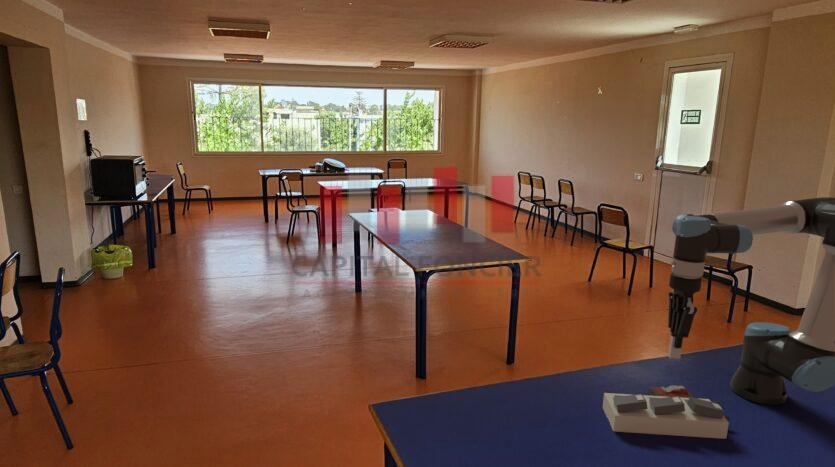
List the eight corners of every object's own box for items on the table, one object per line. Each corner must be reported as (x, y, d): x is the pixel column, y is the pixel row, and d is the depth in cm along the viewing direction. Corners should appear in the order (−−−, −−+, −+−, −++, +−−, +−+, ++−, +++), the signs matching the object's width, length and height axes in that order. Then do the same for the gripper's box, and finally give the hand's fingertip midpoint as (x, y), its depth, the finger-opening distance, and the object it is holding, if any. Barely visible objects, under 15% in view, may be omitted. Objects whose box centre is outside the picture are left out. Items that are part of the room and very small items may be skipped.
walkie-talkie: (657, 410, 156) (721, 408, 156) (658, 396, 155) (723, 395, 156) (643, 394, 164) (704, 393, 165) (644, 382, 163) (706, 381, 164)
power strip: (717, 415, 152) (719, 399, 151) (737, 439, 141) (740, 422, 140) (602, 407, 156) (604, 392, 154) (613, 431, 144) (615, 414, 143)
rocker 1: (642, 401, 147) (641, 393, 146) (647, 409, 143) (646, 400, 143) (613, 404, 148) (612, 396, 148) (617, 412, 144) (616, 404, 144)
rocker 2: (679, 403, 146) (678, 395, 145) (685, 411, 142) (684, 402, 142) (650, 407, 147) (649, 398, 147) (654, 414, 143) (653, 406, 143)
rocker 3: (715, 411, 145) (718, 403, 145) (721, 419, 142) (725, 410, 141) (686, 404, 146) (690, 396, 145) (692, 411, 142) (696, 403, 141)
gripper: (662, 267, 143) (651, 346, 148) (681, 281, 130) (668, 367, 135) (690, 268, 142) (678, 348, 147) (712, 283, 130) (698, 369, 135)
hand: (673, 357), depth 141 cm, fingers closed
